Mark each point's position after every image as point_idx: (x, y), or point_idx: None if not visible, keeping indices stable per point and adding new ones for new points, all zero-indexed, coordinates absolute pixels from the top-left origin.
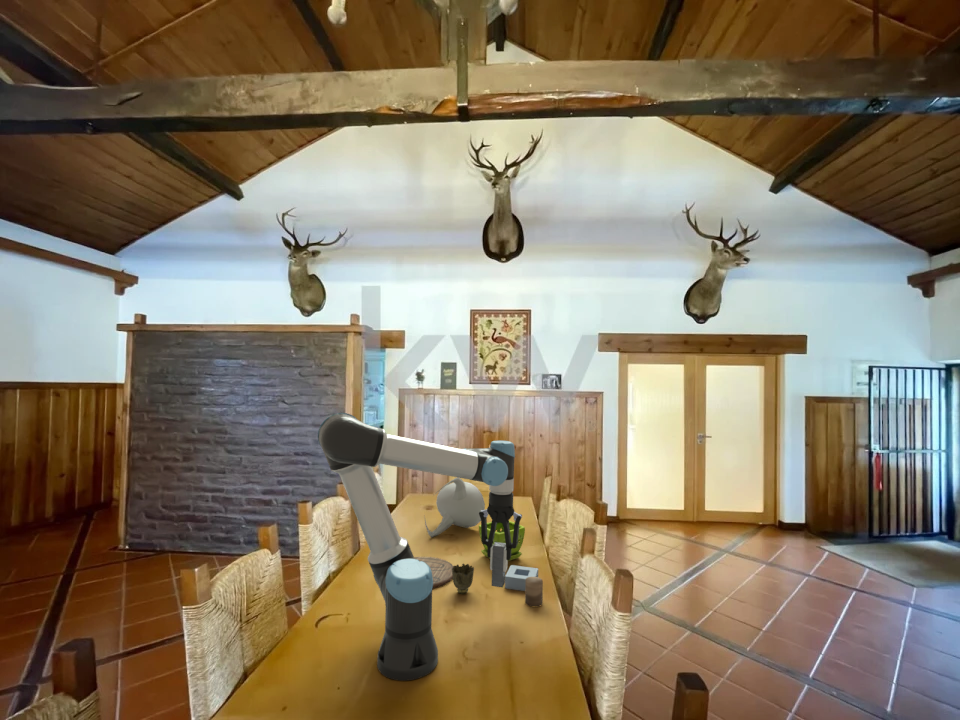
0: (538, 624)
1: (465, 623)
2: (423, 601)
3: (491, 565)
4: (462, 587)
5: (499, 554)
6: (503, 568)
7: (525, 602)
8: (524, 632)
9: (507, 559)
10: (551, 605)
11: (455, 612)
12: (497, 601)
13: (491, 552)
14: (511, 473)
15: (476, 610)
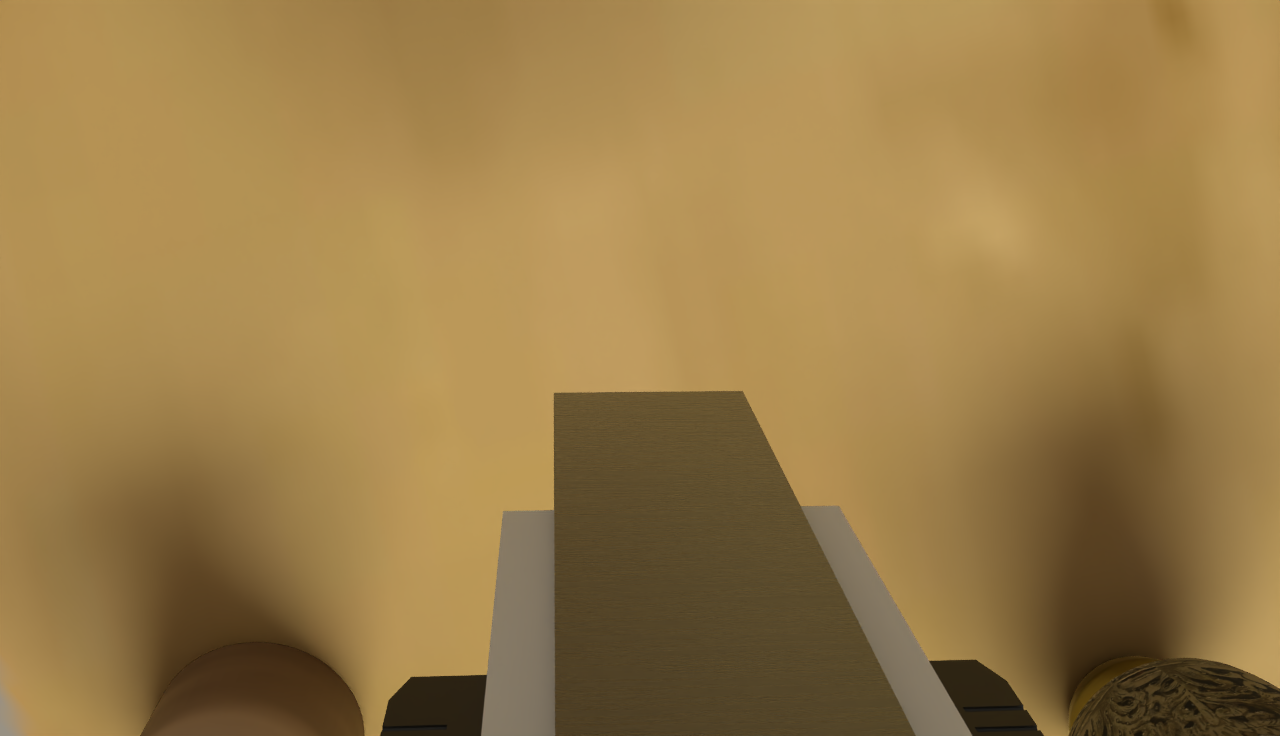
0: (81, 265)
1: (941, 30)
2: None
3: (828, 545)
4: (1155, 664)
5: (675, 667)
6: (550, 538)
7: (353, 698)
8: (201, 33)
9: (464, 683)
10: (39, 732)
11: (1108, 241)
12: None
13: (920, 696)
14: None
15: (877, 359)
